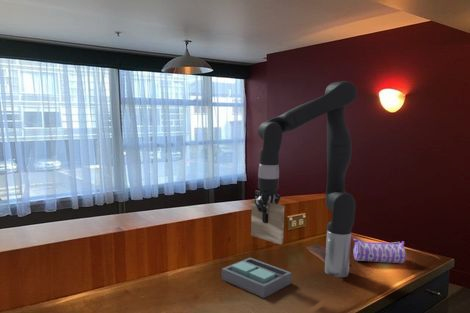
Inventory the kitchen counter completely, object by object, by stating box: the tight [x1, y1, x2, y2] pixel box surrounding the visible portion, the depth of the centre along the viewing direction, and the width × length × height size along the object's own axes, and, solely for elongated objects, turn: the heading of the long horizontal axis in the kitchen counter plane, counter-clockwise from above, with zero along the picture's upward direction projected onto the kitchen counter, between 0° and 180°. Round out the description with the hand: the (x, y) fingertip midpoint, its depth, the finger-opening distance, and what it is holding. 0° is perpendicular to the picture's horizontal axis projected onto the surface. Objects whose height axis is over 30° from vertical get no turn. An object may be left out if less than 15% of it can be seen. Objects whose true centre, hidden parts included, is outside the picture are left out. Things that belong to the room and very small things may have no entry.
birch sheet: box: [250, 198, 285, 245], centre depth 140 cm, size 2×14×14 cm, turn 47°
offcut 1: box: [231, 260, 256, 278], centre depth 139 cm, size 6×7×5 cm
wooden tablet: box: [306, 244, 351, 267], centre depth 169 cm, size 26×2×10 cm
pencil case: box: [352, 238, 407, 264], centre depth 163 cm, size 22×9×10 cm, turn 90°
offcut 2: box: [249, 268, 275, 284], centre depth 133 cm, size 6×7×5 cm
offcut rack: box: [221, 257, 293, 299], centre depth 138 cm, size 16×20×5 cm
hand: (267, 222), depth 140 cm, fingers closed on birch sheet, 1 cm apart
